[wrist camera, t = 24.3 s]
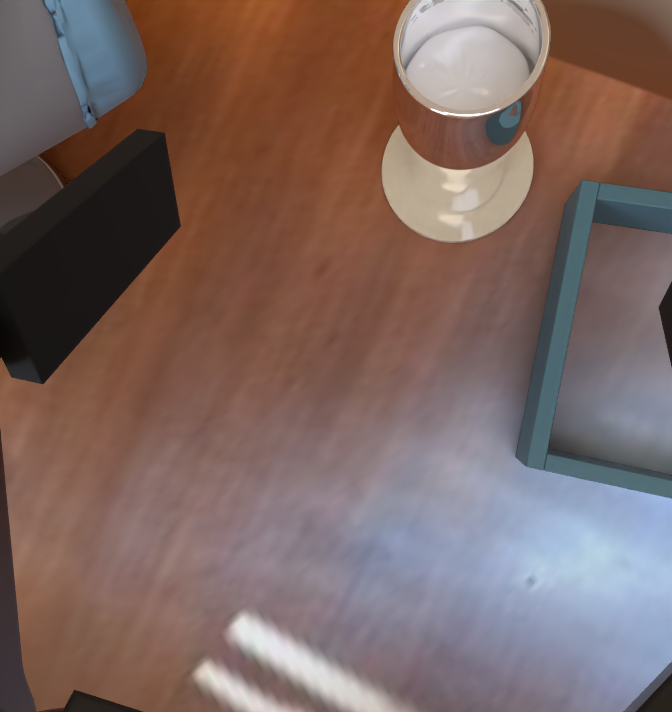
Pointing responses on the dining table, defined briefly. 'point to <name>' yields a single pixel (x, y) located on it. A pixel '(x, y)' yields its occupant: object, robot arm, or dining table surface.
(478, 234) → the plate
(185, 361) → the dining table surface
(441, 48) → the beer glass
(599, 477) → the box
